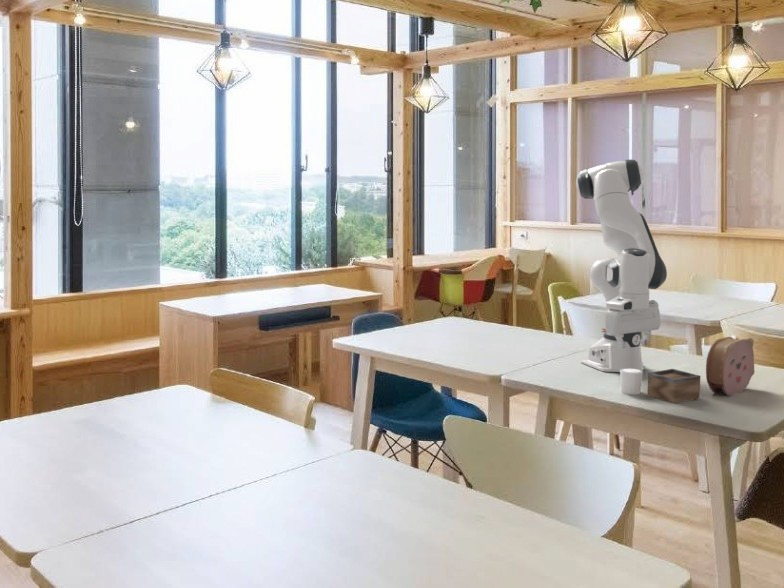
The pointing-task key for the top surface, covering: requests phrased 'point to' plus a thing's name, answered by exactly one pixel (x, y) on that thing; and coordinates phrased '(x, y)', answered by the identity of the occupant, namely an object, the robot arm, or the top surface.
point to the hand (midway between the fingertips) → (632, 346)
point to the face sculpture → (730, 365)
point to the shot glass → (631, 380)
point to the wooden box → (673, 385)
